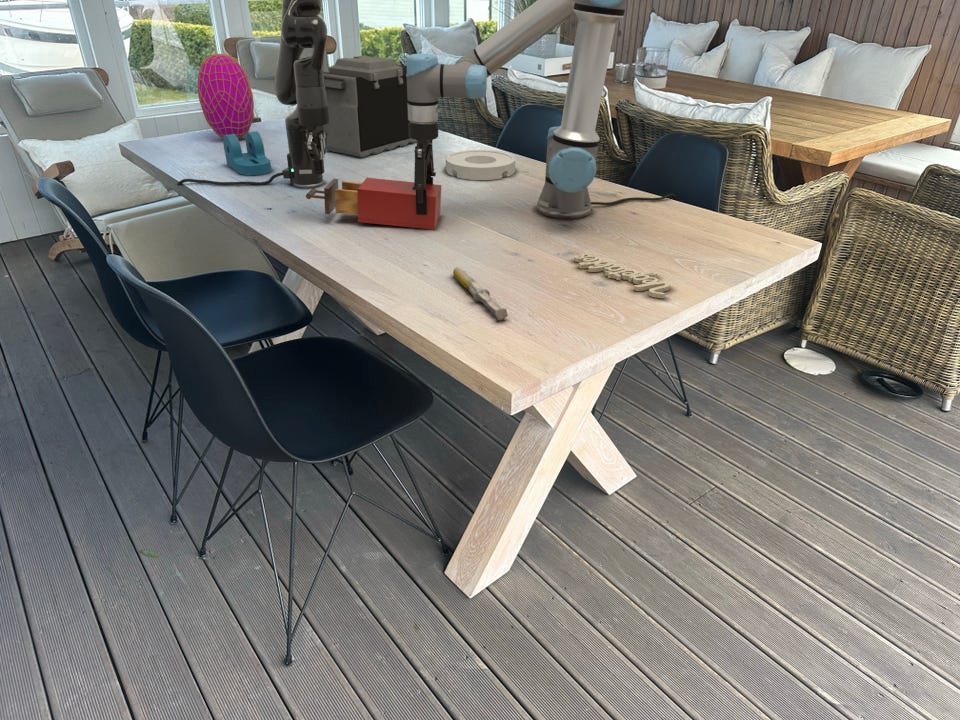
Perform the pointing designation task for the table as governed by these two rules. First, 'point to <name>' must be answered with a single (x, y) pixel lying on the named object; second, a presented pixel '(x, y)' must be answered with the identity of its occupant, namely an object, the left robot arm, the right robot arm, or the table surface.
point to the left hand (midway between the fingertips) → (319, 173)
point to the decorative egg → (225, 95)
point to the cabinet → (396, 204)
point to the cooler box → (366, 106)
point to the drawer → (338, 197)
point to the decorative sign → (625, 274)
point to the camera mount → (246, 154)
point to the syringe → (479, 293)
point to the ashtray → (480, 164)
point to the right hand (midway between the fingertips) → (425, 207)
